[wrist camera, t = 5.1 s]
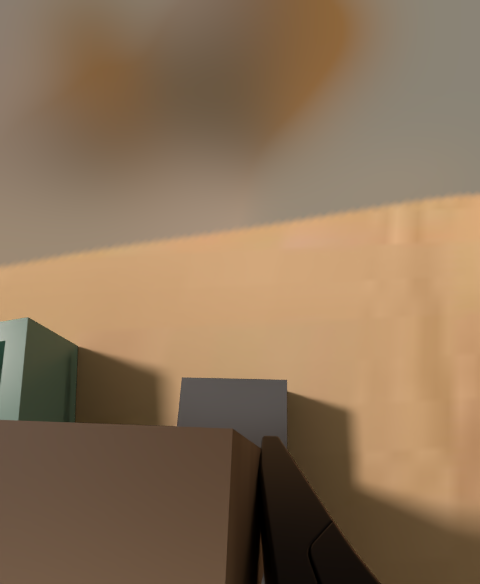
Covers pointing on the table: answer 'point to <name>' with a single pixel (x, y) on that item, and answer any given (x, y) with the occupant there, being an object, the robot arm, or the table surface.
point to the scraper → (141, 492)
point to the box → (36, 373)
